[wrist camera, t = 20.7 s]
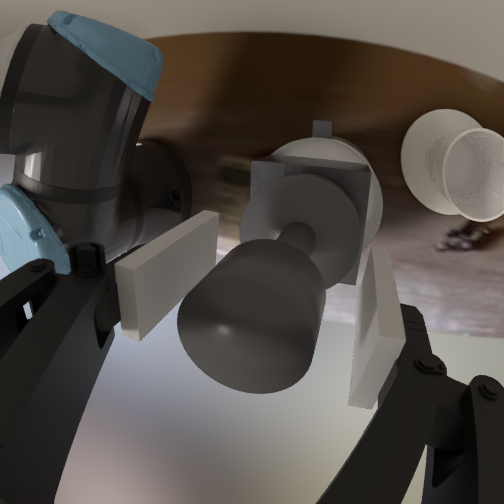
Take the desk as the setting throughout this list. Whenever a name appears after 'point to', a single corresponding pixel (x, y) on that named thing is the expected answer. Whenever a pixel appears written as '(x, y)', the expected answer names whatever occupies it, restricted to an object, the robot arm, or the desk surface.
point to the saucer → (416, 148)
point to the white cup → (469, 171)
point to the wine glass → (272, 286)
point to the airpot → (328, 176)
